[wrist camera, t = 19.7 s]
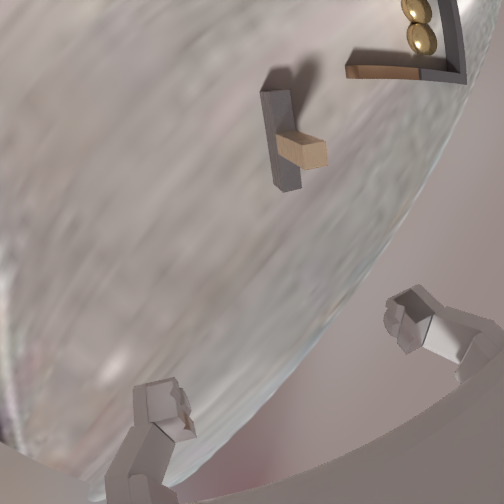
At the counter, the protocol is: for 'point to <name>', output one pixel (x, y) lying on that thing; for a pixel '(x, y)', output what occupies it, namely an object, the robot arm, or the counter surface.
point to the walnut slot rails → (381, 72)
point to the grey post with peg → (288, 142)
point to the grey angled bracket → (449, 47)
